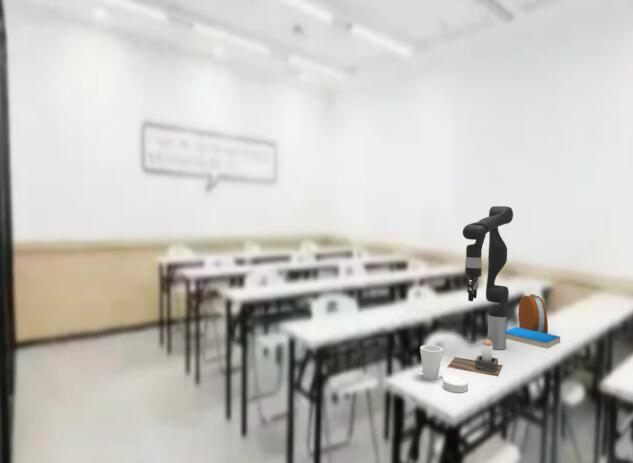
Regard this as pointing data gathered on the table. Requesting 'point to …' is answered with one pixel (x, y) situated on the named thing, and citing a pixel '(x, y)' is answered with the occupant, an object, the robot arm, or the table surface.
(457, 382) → the coaster
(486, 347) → the orange-capped post
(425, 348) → the foam cup
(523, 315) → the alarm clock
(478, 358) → the jig board
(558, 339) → the book
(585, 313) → the table surface
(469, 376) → the table surface
